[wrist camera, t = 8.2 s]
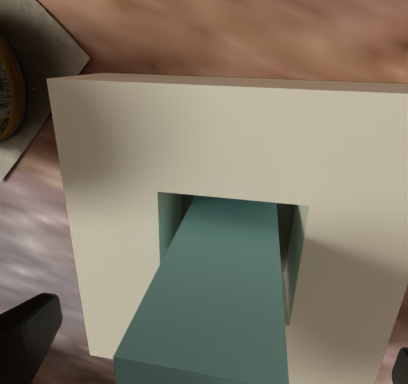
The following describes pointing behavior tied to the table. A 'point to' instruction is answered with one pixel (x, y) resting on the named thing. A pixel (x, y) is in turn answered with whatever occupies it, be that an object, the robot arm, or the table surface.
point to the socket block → (243, 198)
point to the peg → (212, 302)
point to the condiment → (29, 72)
